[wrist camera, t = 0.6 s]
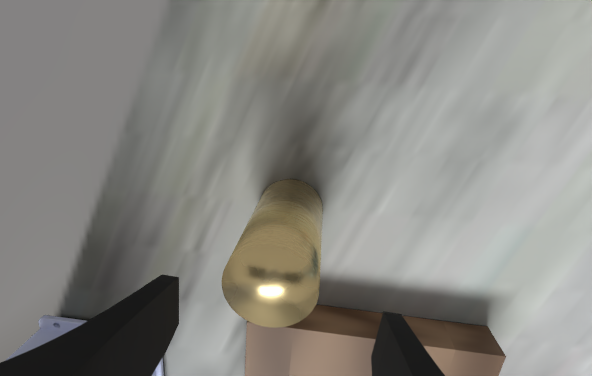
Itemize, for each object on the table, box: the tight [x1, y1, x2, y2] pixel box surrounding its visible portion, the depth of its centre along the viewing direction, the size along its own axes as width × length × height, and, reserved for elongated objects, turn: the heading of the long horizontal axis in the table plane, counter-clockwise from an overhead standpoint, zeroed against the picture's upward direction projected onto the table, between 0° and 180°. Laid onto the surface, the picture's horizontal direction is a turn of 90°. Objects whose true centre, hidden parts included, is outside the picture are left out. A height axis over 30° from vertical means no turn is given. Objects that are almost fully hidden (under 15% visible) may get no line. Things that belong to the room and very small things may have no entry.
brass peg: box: [222, 179, 323, 328], centre depth 17 cm, size 4×4×8 cm
